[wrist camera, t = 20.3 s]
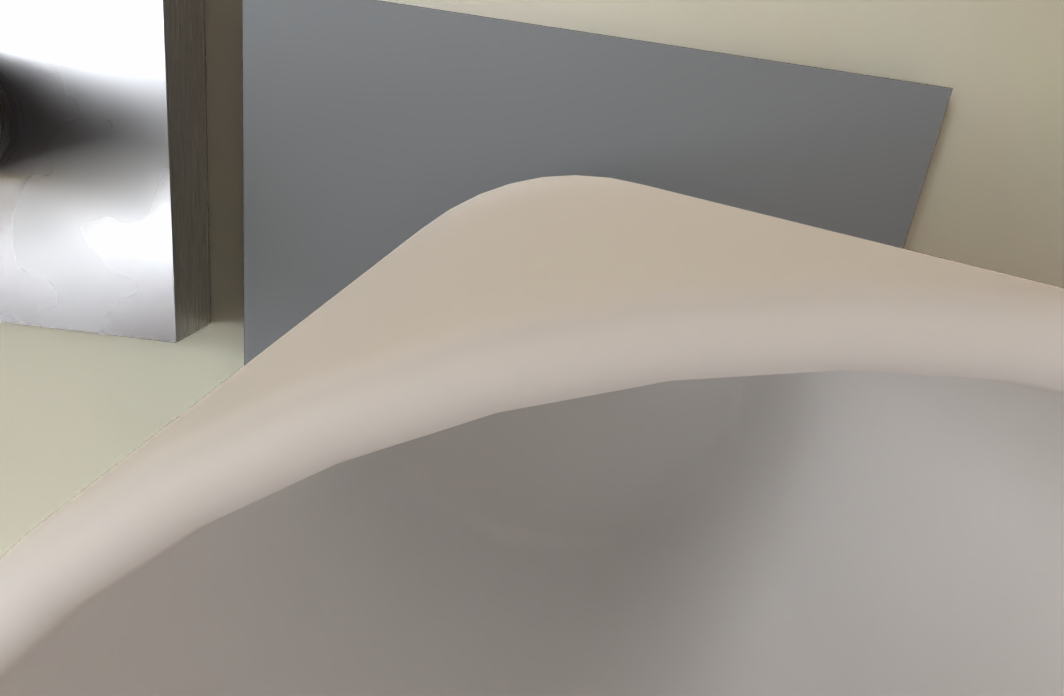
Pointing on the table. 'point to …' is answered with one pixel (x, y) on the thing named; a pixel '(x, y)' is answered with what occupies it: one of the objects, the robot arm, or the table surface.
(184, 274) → the lever post
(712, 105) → the felt mat
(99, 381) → the table surface
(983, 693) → the mug
